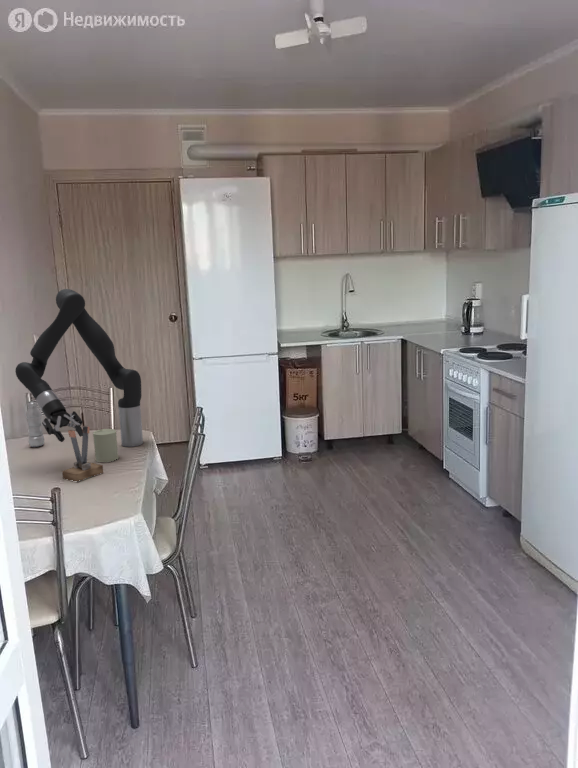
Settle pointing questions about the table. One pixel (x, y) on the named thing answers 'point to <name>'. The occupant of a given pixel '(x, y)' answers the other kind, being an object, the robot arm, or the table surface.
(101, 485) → the table surface
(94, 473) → the stand
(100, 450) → the can
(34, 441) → the plastic bottle
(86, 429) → the bar
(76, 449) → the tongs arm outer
